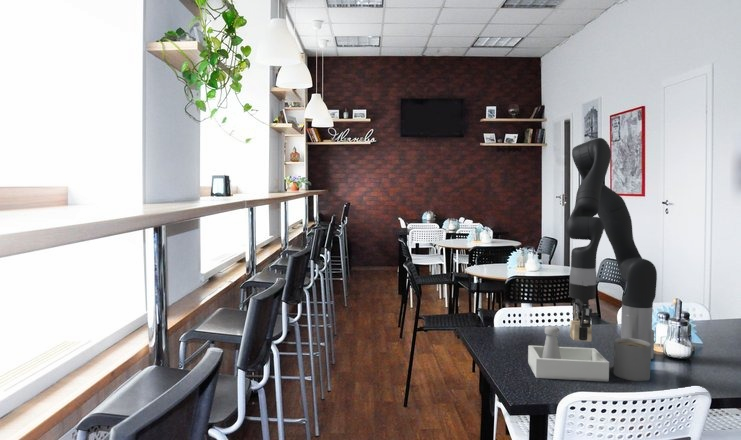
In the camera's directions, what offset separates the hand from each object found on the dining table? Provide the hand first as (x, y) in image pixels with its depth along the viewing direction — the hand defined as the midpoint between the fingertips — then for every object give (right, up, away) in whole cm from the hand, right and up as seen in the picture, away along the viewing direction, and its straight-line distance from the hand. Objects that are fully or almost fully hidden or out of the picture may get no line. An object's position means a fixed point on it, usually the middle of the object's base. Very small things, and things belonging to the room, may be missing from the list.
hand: (580, 337), depth 161 cm
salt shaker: (-9, -10, +1) cm, 13 cm away
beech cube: (0, 0, 0) cm, 0 cm away
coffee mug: (+16, -11, -1) cm, 19 cm away
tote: (-4, -11, +1) cm, 12 cm away
